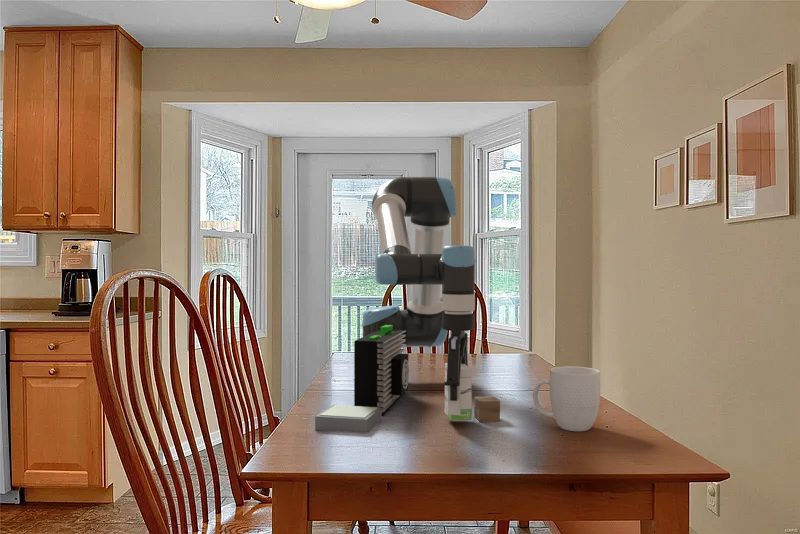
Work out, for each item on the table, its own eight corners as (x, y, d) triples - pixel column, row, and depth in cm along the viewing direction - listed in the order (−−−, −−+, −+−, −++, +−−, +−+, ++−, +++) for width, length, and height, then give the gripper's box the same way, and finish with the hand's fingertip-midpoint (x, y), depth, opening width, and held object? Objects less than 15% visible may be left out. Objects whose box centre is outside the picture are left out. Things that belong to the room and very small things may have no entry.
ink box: (472, 420, 147) (472, 368, 147) (450, 421, 146) (451, 368, 146) (464, 411, 156) (464, 362, 155) (443, 412, 155) (443, 362, 155)
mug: (527, 429, 146) (527, 370, 146) (538, 418, 156) (538, 363, 156) (596, 436, 140) (596, 375, 140) (603, 424, 150) (603, 368, 150)
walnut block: (474, 417, 157) (474, 396, 157) (494, 417, 158) (494, 396, 158) (479, 422, 152) (479, 401, 152) (500, 422, 153) (500, 400, 153)
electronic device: (395, 417, 157) (395, 334, 157) (351, 415, 160) (351, 333, 159) (415, 394, 185) (416, 323, 185) (378, 392, 187) (378, 323, 187)
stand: (333, 417, 157) (333, 404, 157) (381, 420, 154) (381, 406, 154) (315, 429, 145) (315, 415, 145) (366, 433, 142) (366, 418, 142)
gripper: (449, 308, 162) (449, 397, 163) (433, 316, 141) (432, 420, 141) (480, 308, 160) (479, 399, 161) (467, 317, 139) (467, 422, 139)
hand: (457, 409), depth 151 cm, fingers closed on ink box, 9 cm apart
